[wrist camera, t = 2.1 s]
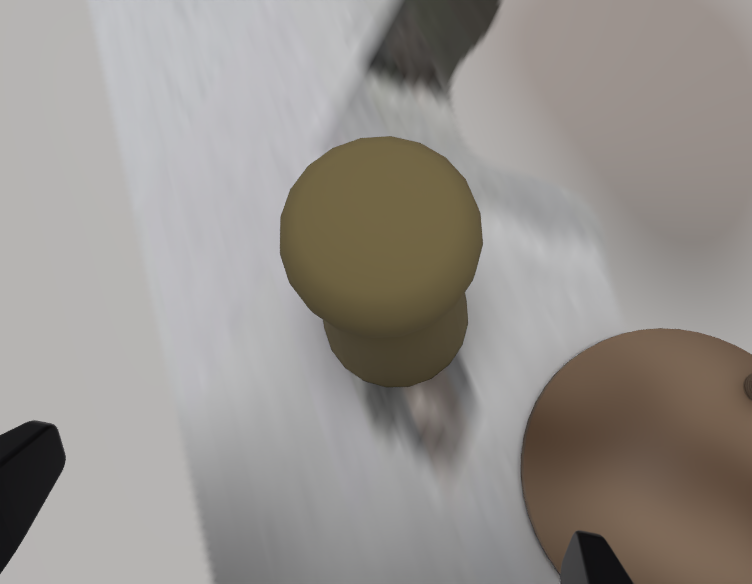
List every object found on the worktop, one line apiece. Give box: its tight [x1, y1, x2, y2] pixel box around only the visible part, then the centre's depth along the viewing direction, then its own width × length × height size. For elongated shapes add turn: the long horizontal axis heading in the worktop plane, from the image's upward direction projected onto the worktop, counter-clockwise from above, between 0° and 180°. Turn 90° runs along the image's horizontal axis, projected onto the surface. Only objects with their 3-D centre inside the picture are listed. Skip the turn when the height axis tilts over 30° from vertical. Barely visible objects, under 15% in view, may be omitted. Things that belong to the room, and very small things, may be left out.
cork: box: [280, 136, 483, 387], centre depth 18 cm, size 6×6×11 cm
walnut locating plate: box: [521, 328, 752, 584], centre depth 19 cm, size 11×11×4 cm
